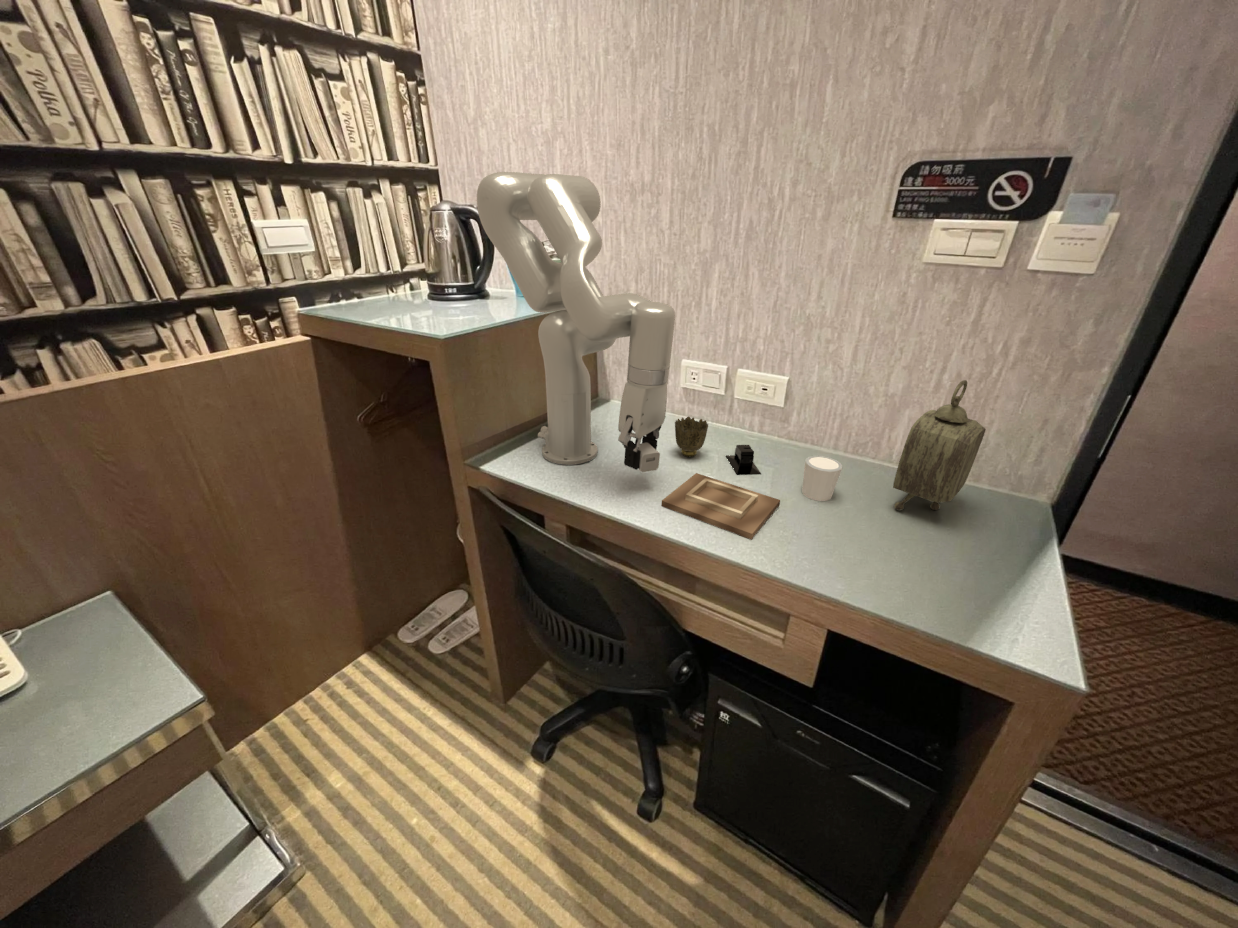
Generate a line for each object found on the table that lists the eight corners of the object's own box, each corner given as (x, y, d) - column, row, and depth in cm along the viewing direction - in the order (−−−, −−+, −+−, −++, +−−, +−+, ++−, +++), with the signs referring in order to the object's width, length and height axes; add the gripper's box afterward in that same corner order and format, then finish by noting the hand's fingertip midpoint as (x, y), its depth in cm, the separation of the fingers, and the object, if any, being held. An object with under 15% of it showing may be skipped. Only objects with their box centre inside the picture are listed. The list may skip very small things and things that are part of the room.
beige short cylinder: (836, 490, 103) (843, 459, 100) (833, 506, 97) (841, 474, 94) (801, 482, 106) (807, 452, 102) (796, 497, 100) (803, 466, 97)
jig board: (661, 505, 96) (662, 495, 95) (695, 477, 106) (696, 467, 105) (751, 539, 87) (753, 527, 86) (779, 505, 97) (781, 494, 96)
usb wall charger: (640, 473, 98) (642, 454, 96) (624, 456, 103) (625, 439, 101) (658, 469, 99) (660, 451, 97) (641, 453, 105) (643, 436, 103)
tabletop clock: (910, 484, 106) (949, 368, 94) (959, 501, 100) (1006, 379, 89) (884, 510, 96) (923, 384, 85) (936, 529, 91) (985, 397, 79)
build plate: (767, 479, 107) (770, 460, 105) (733, 480, 107) (736, 461, 105) (749, 454, 118) (752, 436, 116) (718, 454, 118) (721, 436, 116)
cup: (710, 453, 117) (713, 421, 114) (696, 465, 112) (700, 431, 108) (681, 445, 121) (683, 414, 117) (666, 456, 115) (669, 424, 111)
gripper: (655, 359, 100) (647, 441, 109) (603, 380, 87) (598, 471, 96) (688, 368, 96) (677, 452, 105) (639, 391, 84) (631, 484, 93)
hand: (640, 460), depth 100 cm, fingers closed on usb wall charger, 5 cm apart
